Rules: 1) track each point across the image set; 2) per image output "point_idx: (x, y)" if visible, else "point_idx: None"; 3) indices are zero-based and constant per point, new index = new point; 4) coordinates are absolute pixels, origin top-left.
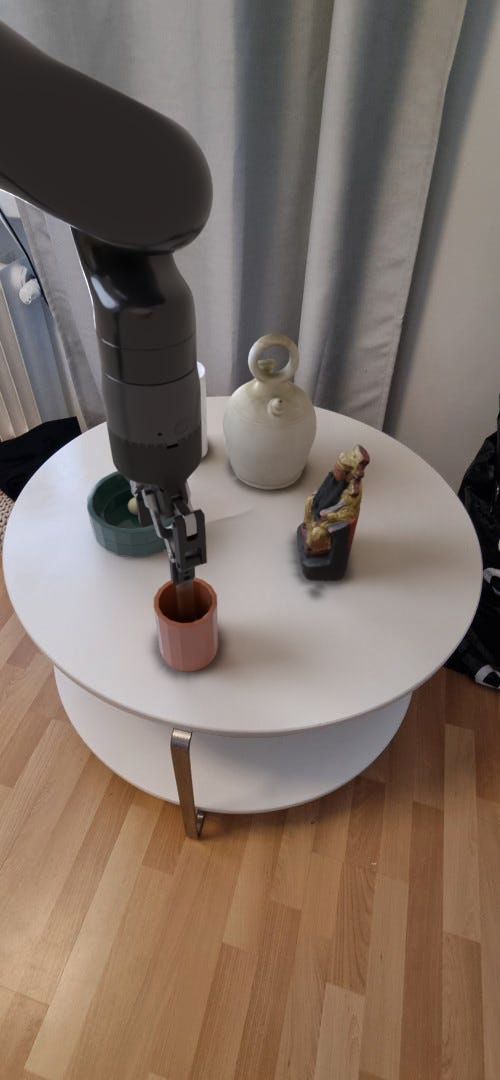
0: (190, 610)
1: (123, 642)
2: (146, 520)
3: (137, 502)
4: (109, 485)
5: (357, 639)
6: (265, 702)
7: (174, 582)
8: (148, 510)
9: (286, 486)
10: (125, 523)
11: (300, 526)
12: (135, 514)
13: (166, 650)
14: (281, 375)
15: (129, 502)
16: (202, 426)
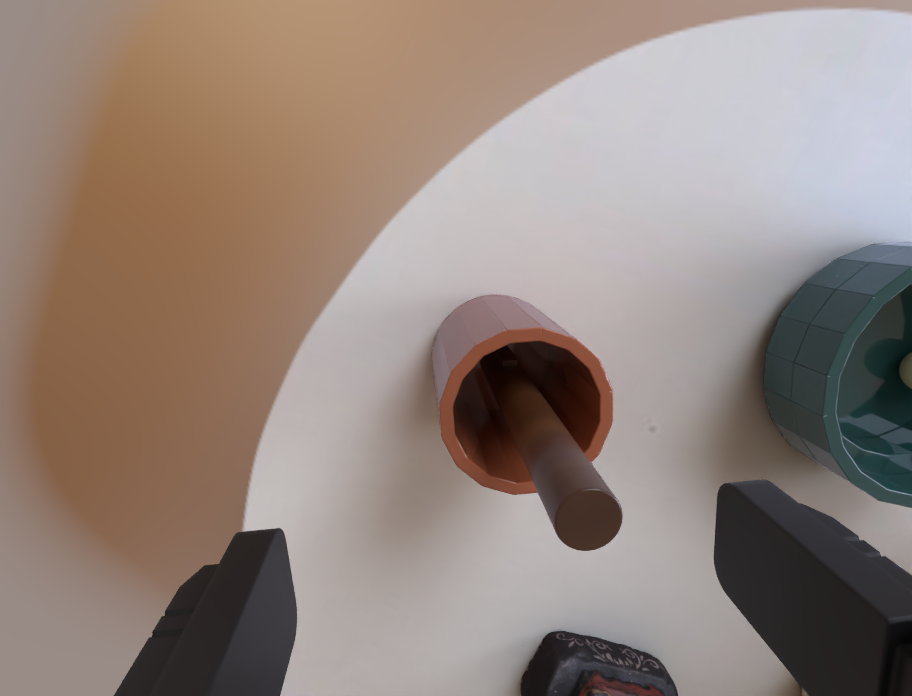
0: (502, 413)
1: (564, 224)
2: (742, 529)
3: (884, 599)
4: None
5: (378, 659)
6: (311, 453)
7: (232, 545)
8: (790, 597)
9: (802, 690)
10: (891, 326)
11: (670, 691)
12: (904, 358)
13: (474, 310)
14: None
15: None
16: None
